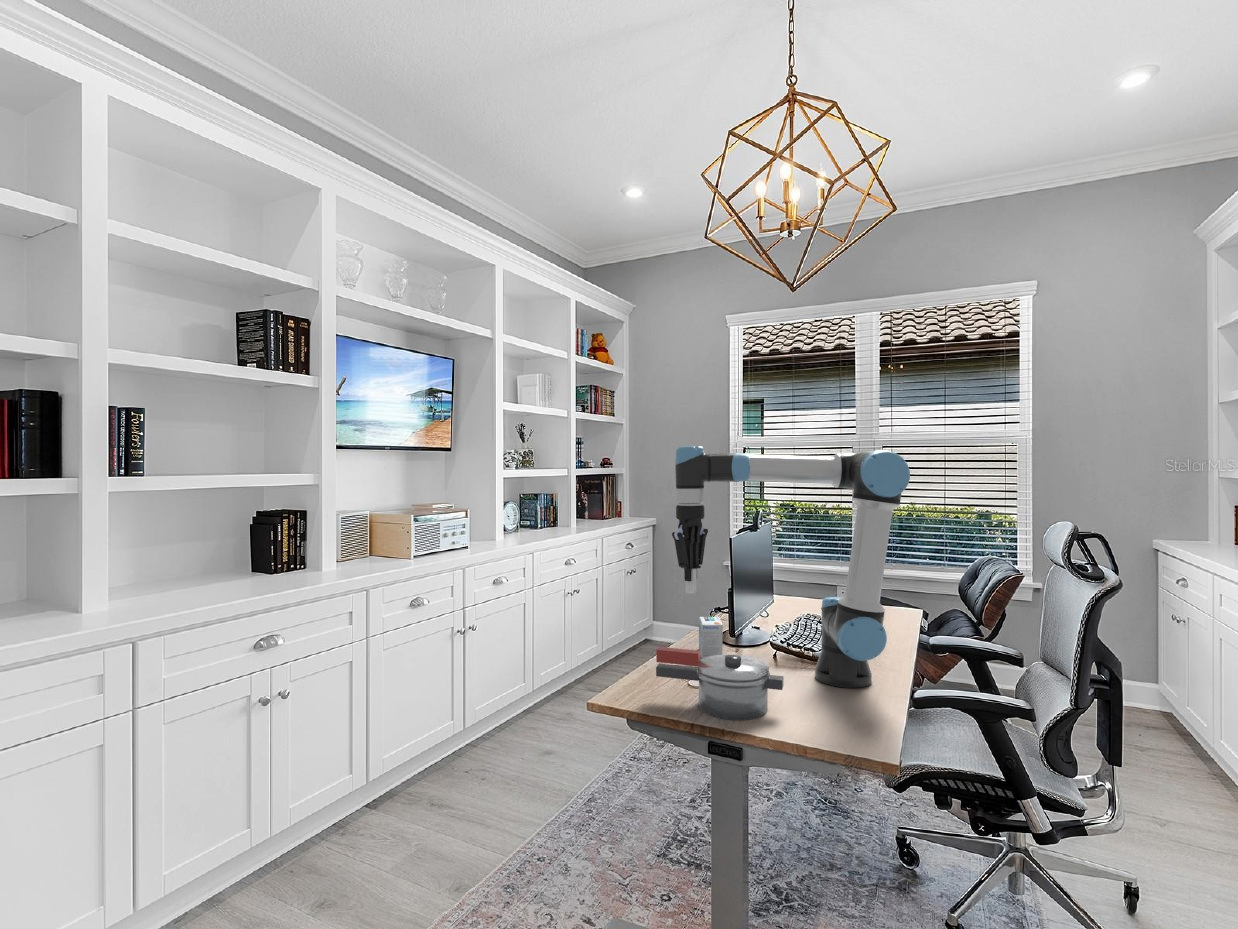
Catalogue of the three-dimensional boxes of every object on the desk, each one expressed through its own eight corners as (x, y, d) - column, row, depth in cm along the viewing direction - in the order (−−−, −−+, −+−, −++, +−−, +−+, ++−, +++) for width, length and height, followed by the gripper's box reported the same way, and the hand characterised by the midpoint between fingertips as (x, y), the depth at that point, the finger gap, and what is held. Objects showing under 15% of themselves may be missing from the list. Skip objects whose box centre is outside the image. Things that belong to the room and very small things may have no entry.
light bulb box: (698, 649, 218) (698, 616, 218) (719, 649, 218) (719, 616, 218) (701, 659, 208) (701, 624, 208) (723, 659, 207) (723, 624, 207)
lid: (772, 663, 173) (772, 649, 173) (764, 685, 156) (764, 669, 156) (666, 652, 182) (666, 639, 182) (648, 672, 166) (648, 657, 166)
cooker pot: (785, 700, 172) (786, 665, 172) (779, 727, 155) (779, 688, 155) (666, 686, 182) (666, 653, 182) (648, 710, 165) (648, 673, 165)
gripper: (693, 502, 185) (694, 587, 185) (663, 505, 176) (664, 594, 176) (716, 503, 180) (716, 591, 180) (686, 506, 171) (687, 598, 171)
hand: (691, 592), depth 178 cm, fingers closed
